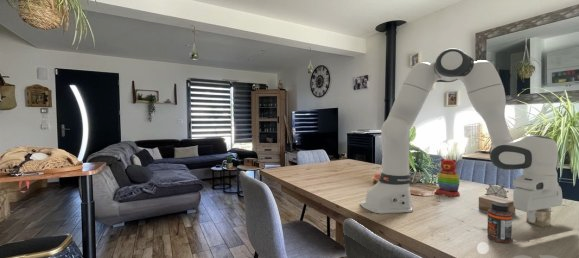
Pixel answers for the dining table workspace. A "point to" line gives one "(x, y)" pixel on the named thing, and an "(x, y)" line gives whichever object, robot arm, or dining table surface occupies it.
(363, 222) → the dining table surface
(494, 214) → the supplement bottle
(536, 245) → the dining table surface
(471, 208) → the base plate
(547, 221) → the oak block
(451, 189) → the stacking bear
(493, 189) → the game die
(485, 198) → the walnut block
